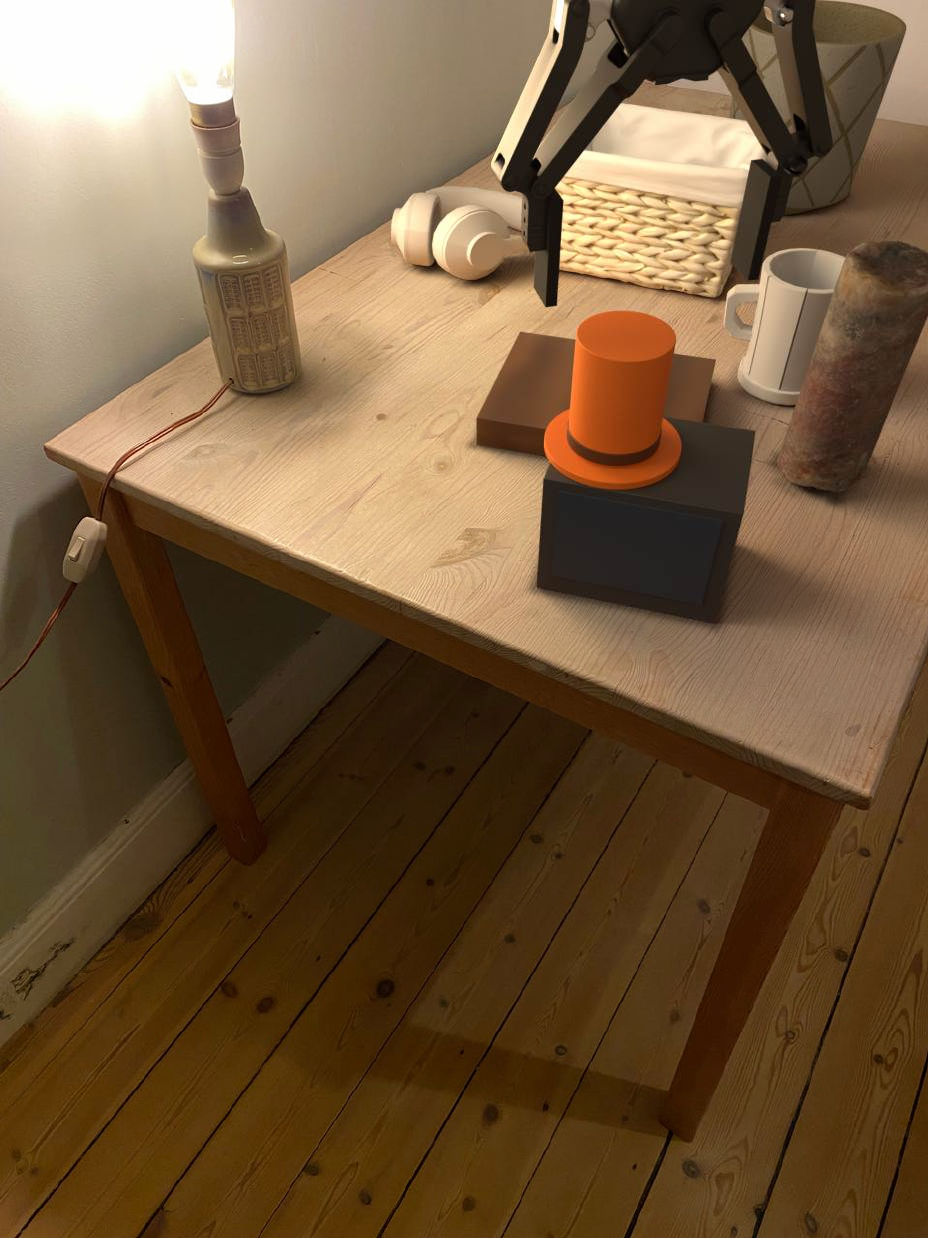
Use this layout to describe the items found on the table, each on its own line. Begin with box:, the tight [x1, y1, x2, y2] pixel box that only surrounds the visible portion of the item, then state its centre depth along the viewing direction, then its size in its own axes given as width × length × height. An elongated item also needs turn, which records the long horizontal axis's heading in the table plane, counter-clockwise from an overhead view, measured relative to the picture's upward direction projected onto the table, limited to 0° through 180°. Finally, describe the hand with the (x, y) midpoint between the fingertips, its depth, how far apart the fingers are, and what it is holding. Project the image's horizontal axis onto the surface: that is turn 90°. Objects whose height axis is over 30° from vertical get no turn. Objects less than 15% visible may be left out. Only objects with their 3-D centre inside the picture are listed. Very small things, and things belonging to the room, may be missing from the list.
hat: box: [544, 310, 682, 490], centre depth 64 cm, size 10×10×9 cm
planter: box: [728, 0, 907, 216], centre depth 117 cm, size 19×19×20 cm
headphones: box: [390, 185, 529, 281], centre depth 111 cm, size 18×8×20 cm
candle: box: [776, 240, 928, 493], centre depth 75 cm, size 8×7×20 cm
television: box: [536, 416, 757, 624], centre depth 71 cm, size 14×10×11 cm
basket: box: [555, 102, 768, 298], centre depth 105 cm, size 24×16×15 cm
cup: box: [722, 247, 846, 407], centre depth 88 cm, size 10×9×12 cm
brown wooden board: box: [475, 331, 717, 457], centre depth 88 cm, size 20×16×3 cm
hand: (646, 284), depth 59 cm, fingers open, 13 cm apart
